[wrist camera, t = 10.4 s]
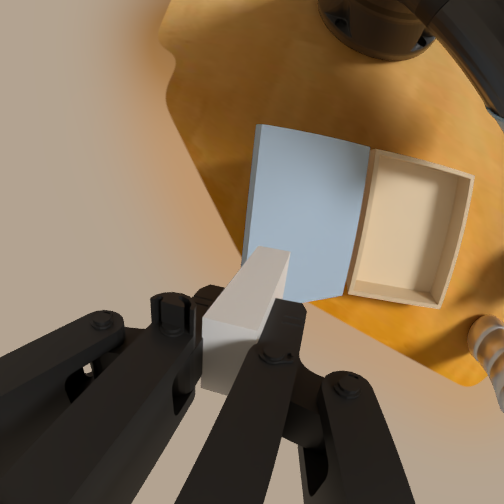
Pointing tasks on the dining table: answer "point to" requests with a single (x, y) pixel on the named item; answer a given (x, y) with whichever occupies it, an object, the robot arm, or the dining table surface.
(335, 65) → the dining table surface
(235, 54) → the dining table surface
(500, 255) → the dining table surface
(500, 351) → the plastic bottle
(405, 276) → the base
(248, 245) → the lid
